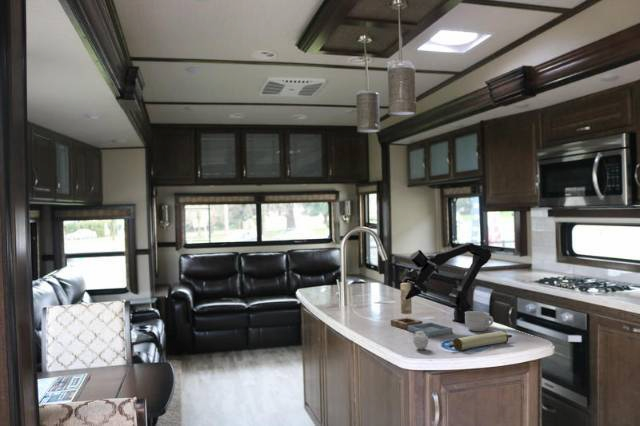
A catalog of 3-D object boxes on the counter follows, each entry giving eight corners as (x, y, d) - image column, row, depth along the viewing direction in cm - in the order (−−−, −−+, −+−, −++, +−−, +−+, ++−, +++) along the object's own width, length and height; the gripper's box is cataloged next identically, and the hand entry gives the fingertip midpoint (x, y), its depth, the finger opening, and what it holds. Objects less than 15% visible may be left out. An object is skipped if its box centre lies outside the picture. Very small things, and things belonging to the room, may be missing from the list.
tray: (452, 332, 220) (452, 327, 220) (428, 337, 213) (428, 332, 213) (430, 326, 232) (430, 322, 232) (407, 330, 225) (407, 326, 225)
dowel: (413, 313, 234) (413, 283, 234) (405, 314, 231) (405, 284, 231) (407, 311, 238) (406, 282, 238) (399, 312, 236) (398, 283, 236)
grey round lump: (425, 346, 199) (424, 329, 199) (431, 351, 192) (431, 333, 192) (410, 347, 198) (410, 330, 198) (416, 352, 191) (416, 334, 191)
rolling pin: (506, 340, 206) (506, 328, 206) (516, 343, 201) (516, 331, 201) (444, 350, 193) (444, 337, 193) (454, 354, 188) (453, 341, 188)
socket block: (422, 326, 233) (422, 321, 233) (405, 329, 227) (405, 324, 227) (408, 322, 242) (407, 317, 242) (390, 325, 237) (390, 319, 237)
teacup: (460, 328, 227) (459, 311, 227) (479, 326, 231) (478, 309, 231) (480, 335, 214) (479, 317, 214) (500, 332, 218) (499, 314, 218)
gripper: (405, 261, 245) (384, 284, 242) (421, 264, 226) (399, 290, 224) (419, 275, 246) (400, 299, 244) (437, 280, 228) (416, 306, 226)
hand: (403, 298), depth 234 cm, fingers closed on dowel, 5 cm apart
